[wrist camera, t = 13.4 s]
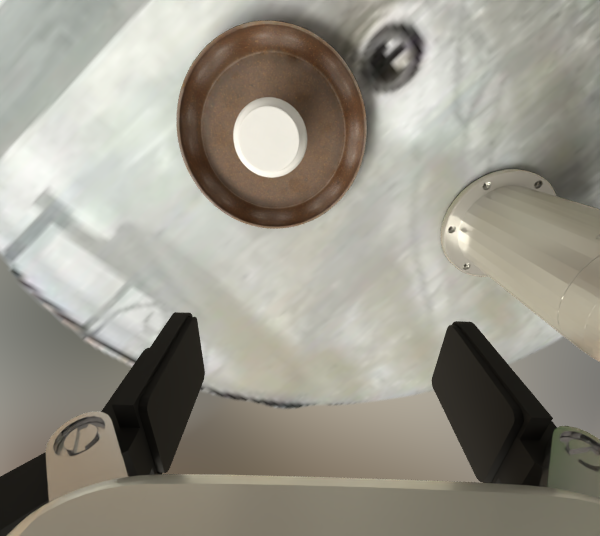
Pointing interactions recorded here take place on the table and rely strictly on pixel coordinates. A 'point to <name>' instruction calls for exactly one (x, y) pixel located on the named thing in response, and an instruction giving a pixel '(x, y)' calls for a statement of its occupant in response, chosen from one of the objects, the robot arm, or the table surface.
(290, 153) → the supplement bottle
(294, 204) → the plant saucer
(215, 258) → the table surface
